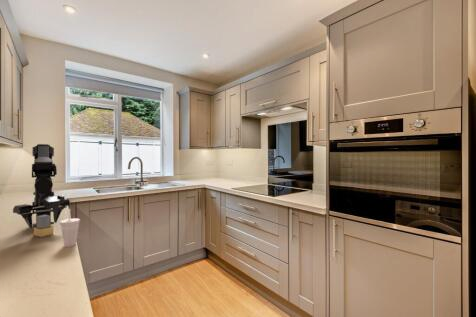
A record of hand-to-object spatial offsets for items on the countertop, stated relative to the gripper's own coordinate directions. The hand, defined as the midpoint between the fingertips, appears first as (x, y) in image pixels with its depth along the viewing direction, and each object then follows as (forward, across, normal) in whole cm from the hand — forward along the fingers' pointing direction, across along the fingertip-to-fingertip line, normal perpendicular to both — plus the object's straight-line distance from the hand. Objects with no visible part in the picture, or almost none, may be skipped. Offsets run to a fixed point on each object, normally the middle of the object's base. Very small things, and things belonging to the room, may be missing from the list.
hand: (43, 225), depth 100 cm
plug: (+4, 0, 0) cm, 4 cm away
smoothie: (+5, -2, -23) cm, 23 cm away
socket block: (+4, 0, 0) cm, 4 cm away
